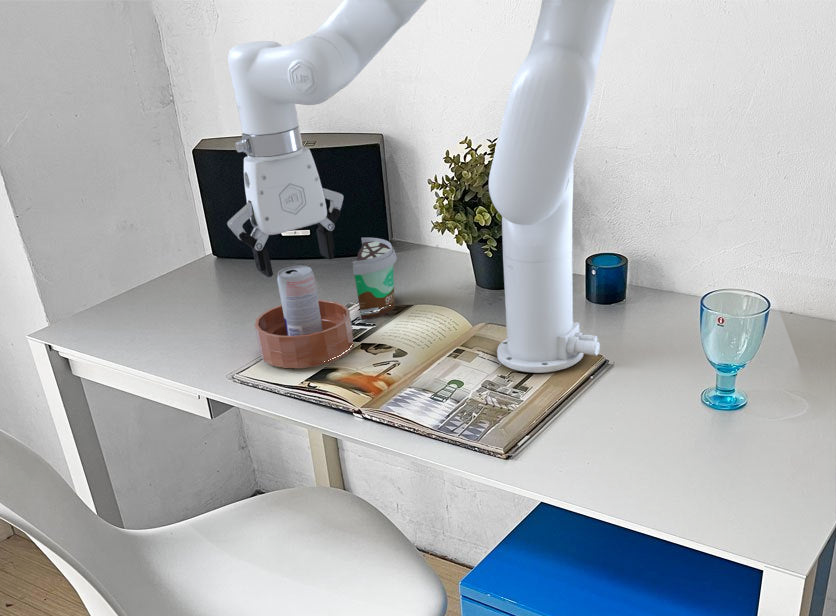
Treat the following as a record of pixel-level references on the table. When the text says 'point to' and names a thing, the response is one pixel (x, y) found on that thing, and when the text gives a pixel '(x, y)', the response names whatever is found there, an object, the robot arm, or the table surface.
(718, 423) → the table surface
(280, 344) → the bowl
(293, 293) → the energy drink
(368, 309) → the food container
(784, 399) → the table surface
